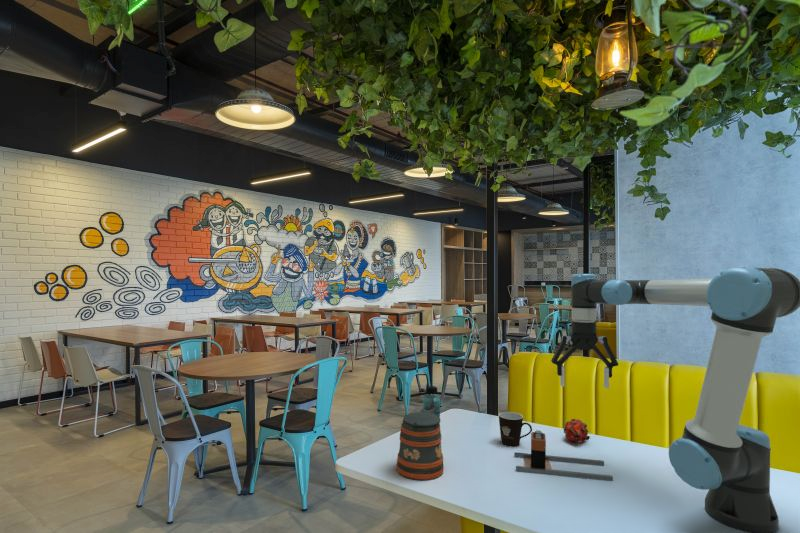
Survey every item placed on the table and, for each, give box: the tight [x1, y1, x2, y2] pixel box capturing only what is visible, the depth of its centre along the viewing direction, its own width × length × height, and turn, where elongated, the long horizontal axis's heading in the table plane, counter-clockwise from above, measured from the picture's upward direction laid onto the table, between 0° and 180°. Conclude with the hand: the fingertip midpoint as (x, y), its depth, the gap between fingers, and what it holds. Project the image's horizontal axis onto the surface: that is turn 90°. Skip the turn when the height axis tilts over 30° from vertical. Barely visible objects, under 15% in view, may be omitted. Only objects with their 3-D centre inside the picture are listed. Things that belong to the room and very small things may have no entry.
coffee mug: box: [498, 411, 533, 448], centre depth 162 cm, size 12×9×10 cm
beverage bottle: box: [422, 385, 441, 425], centre depth 163 cm, size 6×7×20 cm
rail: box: [513, 452, 614, 482], centre depth 144 cm, size 12×28×1 cm, turn 79°
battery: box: [530, 429, 547, 469], centre depth 145 cm, size 4×7×10 cm, turn 164°
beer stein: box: [395, 398, 445, 481], centre depth 143 cm, size 19×15×20 cm
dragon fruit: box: [563, 418, 591, 445], centre depth 167 cm, size 8×8×12 cm
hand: (584, 386), depth 147 cm, fingers open, 13 cm apart
